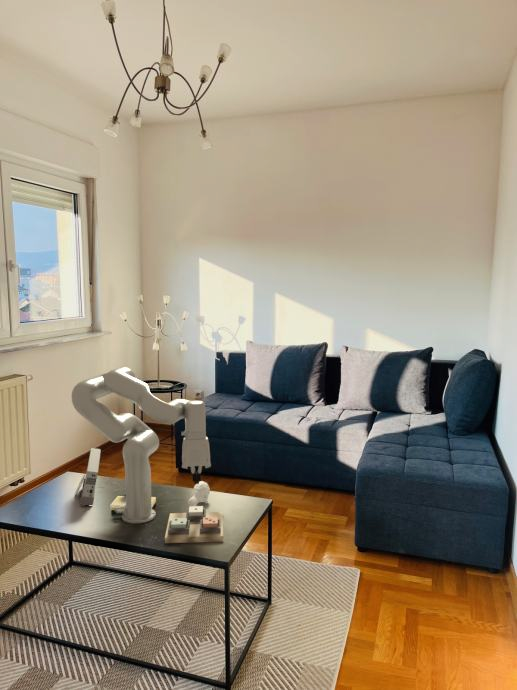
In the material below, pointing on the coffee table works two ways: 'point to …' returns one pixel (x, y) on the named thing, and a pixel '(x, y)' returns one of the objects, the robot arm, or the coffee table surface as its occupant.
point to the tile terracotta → (210, 522)
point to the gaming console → (90, 478)
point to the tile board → (195, 529)
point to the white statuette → (199, 494)
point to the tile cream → (195, 510)
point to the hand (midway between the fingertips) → (196, 482)
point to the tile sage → (178, 523)
